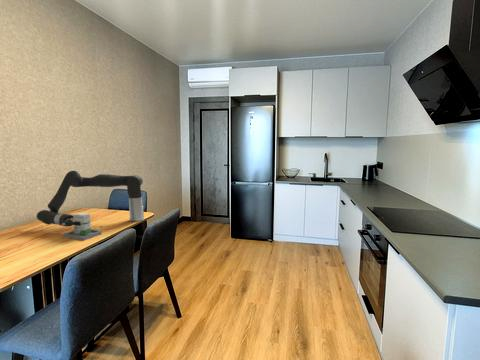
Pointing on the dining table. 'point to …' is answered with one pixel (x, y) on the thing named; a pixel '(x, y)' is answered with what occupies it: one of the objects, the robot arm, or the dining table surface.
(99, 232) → the tray
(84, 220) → the ink box
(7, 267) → the dining table surface
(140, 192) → the robot arm
